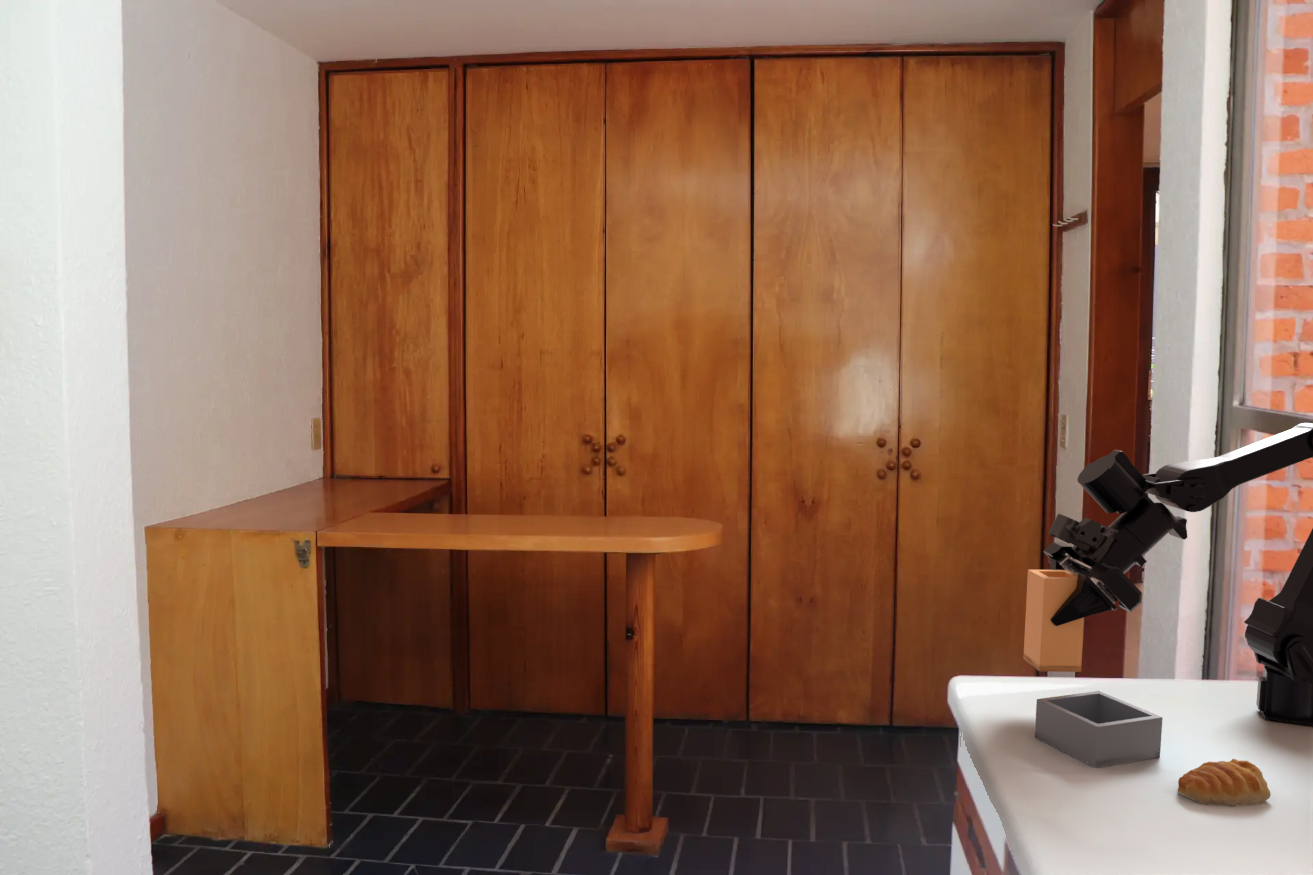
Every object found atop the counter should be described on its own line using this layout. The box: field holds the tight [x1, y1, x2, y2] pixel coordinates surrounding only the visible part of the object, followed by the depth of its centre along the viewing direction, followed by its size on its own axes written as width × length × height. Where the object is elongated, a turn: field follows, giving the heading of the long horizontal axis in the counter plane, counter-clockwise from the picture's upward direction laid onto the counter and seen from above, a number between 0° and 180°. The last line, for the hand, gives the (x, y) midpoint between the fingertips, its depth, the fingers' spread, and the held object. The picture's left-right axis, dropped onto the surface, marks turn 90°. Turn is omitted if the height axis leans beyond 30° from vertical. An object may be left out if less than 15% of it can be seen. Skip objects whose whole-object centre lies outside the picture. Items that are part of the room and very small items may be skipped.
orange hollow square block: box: [1023, 569, 1085, 673], centre depth 140 cm, size 6×6×12 cm
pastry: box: [1177, 758, 1272, 807], centre depth 116 cm, size 9×7×4 cm
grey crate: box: [1034, 690, 1163, 769], centre depth 130 cm, size 10×10×5 cm
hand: (1044, 617), depth 140 cm, fingers closed on orange hollow square block, 6 cm apart
